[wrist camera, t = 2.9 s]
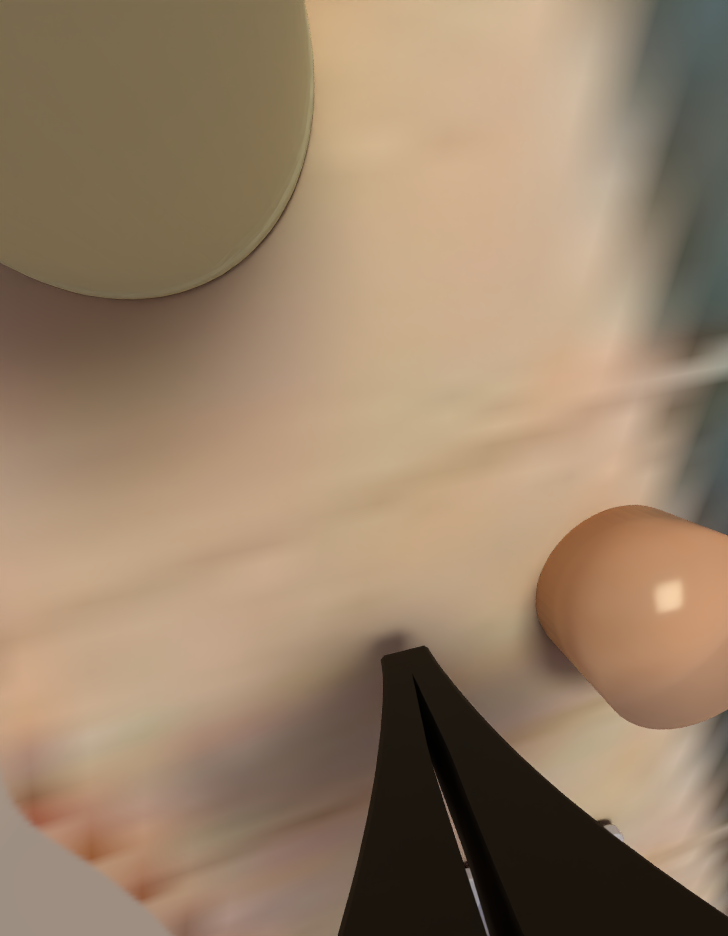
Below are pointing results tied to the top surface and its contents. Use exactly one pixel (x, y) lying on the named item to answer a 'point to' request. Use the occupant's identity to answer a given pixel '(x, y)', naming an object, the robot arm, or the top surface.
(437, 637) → the top surface
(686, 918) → the robot arm
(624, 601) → the tan rounded pebble
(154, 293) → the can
